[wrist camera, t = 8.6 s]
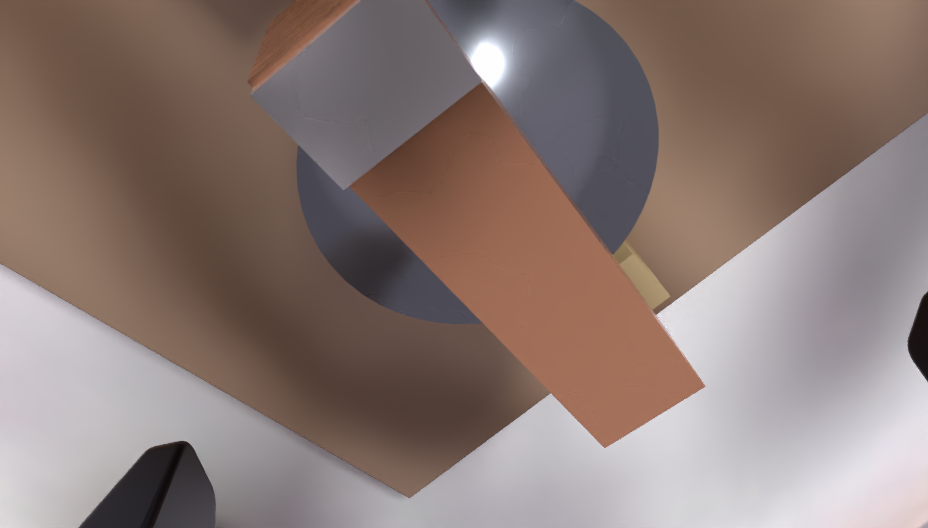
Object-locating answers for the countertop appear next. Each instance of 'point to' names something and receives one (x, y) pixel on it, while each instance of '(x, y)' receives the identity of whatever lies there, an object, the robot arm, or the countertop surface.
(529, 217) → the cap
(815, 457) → the countertop surface
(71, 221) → the post board
